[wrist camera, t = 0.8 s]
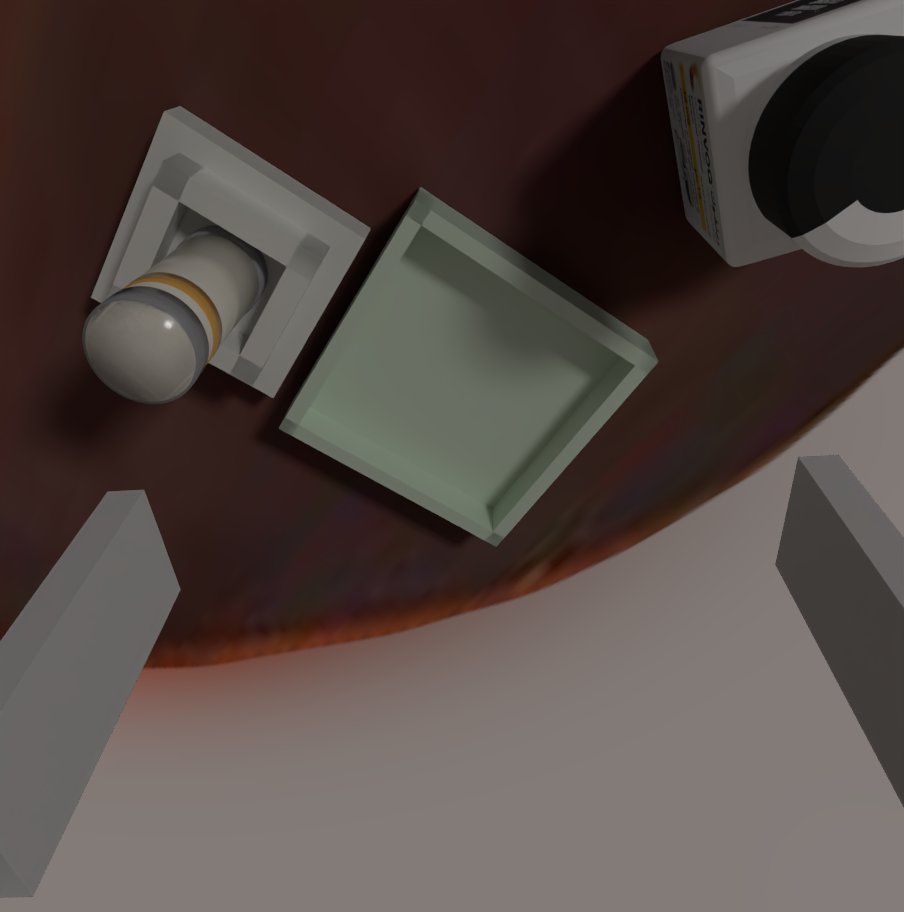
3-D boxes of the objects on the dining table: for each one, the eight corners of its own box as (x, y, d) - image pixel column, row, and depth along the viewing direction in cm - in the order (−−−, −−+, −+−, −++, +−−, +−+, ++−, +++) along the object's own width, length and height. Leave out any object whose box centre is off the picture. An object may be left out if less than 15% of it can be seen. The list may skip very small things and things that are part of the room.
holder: (108, 284, 38) (71, 311, 35) (180, 106, 33) (145, 117, 30) (282, 381, 41) (263, 416, 37) (371, 228, 36) (358, 251, 33)
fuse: (167, 281, 36) (67, 367, 27) (200, 206, 34) (104, 274, 25) (245, 326, 37) (173, 422, 28) (282, 256, 35) (216, 337, 26)
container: (657, 47, 32) (749, 70, 20) (846, -19, 30) (1057, -33, 19) (684, 222, 35) (775, 321, 24) (854, 171, 34) (1034, 252, 23)
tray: (290, 404, 41) (278, 428, 39) (420, 186, 35) (415, 200, 32) (496, 518, 45) (496, 546, 42) (647, 339, 38) (658, 361, 36)
